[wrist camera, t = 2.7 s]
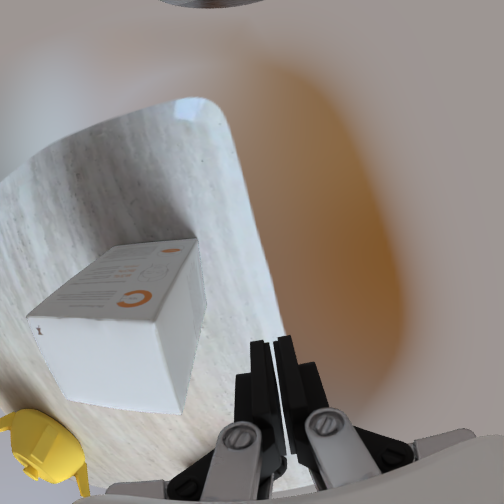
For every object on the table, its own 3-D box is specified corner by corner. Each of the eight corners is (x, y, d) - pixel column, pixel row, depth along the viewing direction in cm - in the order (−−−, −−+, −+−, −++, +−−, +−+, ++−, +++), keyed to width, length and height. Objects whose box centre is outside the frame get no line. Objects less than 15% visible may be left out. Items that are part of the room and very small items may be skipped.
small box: (128, 308, 25) (64, 401, 13) (113, 244, 23) (21, 314, 11) (209, 305, 25) (184, 418, 13) (200, 236, 23) (152, 318, 11)
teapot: (62, 410, 31) (32, 463, 19) (107, 465, 36) (91, 512, 24) (5, 393, 31) (-23, 432, 19) (47, 448, 36) (29, 485, 24)
